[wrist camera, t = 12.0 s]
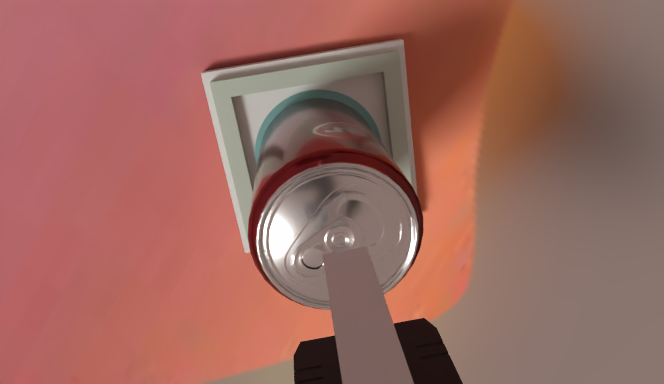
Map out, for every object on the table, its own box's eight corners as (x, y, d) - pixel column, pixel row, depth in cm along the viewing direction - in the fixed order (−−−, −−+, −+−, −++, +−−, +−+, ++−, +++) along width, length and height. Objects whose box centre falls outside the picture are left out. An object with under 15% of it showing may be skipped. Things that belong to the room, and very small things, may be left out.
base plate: (203, 70, 29) (198, 75, 27) (399, 38, 29) (406, 40, 28) (246, 246, 34) (244, 258, 32) (416, 216, 34) (423, 227, 32)
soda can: (336, 71, 29) (369, 116, 18) (396, 168, 31) (458, 259, 20) (236, 138, 30) (207, 221, 19) (302, 226, 32) (312, 345, 21)
